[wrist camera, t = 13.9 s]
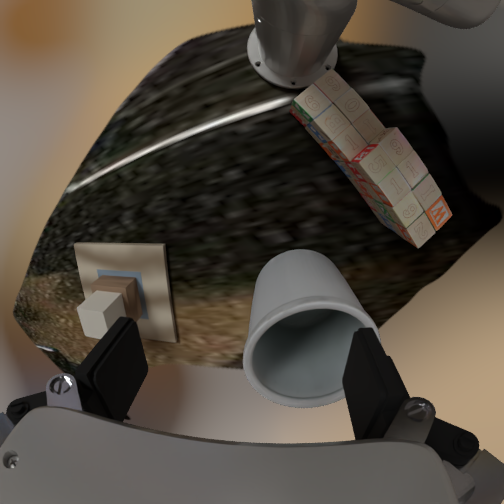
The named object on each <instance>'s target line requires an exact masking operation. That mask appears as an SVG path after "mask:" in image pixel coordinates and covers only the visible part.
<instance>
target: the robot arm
mask: <svg viewBox="0 0 504 504" xmlns="http://www.w3.org/2000/svg"><path fill="white" fill-rule="evenodd" d="M390 1H393V2H395V3H398V4H400V5H402V6H405V7H407V8H409V9H412V10H414V11H416V12H418V13H421V14H422V15H425V16H427V17H429V18H431V19H433V20H435V21H437V22H439V23H442V24H444V25H447V26H450V27H453V28H458V29H471V28H474V27H477V26H479V25H481V24H482V23H484V22H485V21H486V20H487V19H489V18H490V16H491V15H492V14H493V13H494V12H495V10H496V8H497V6H498V5H499V3H500V1H501V0H390ZM356 6H357V0H252V7H253V13H254V21H255V28H254V30H253V31H252V33H251V34H250V37H249V39H248V44H247V53H248V58H249V61H250V63H251V65H252V67H253V68H254V70H255V71H256V72H257V73H258V74H259V75H260V76H261V77H262V78H263V79H265V80H266V81H268V82H269V83H271V84H274V85H276V86H279V87H283V88H287V89H305V88H308V87H309V86H311V85H312V84H313V83H314V82H315V81H316V80H318V79H319V78H320V77H321V76H323V75H324V74H325V73H327V72H328V71H329V70H330V69H334V68H335V65H336V63H337V57H338V53H337V46H336V42H337V41H338V39H339V37H340V36H341V34H342V32H343V31H344V29H345V27H346V26H347V24H348V22H349V21H350V19H351V17H352V15H353V14H354V12H355V9H356ZM258 64H259V65H260V66H259V67H257V65H258ZM325 68H328V69H329V70H326V69H325ZM293 82H294V83H295V85H292V83H293ZM147 372H148V365H147V361H146V357H145V354H144V350H143V346H142V342H141V338H140V334H139V329H138V325H137V323H136V322H135V321H134V320H133V318H130V317H122V316H121V317H119V318H118V319H117V320H116V321H115V323H114V324H113V325H112V326H111V327H110V329H109V330H108V331H107V332H106V333H105V335H104V336H103V337H102V338H101V340H100V341H99V342H98V343H97V344H96V346H95V347H94V348H93V349H92V351H91V352H90V353H89V354H88V356H87V357H86V358H85V359H84V361H83V362H82V363H81V364H80V366H79V367H78V368H77V370H76V371H75V373H76V374H75V375H74V377H73V376H72V375H69V374H64V373H63V374H58V375H55V376H54V377H52V378H51V379H50V380H49V381H48V383H47V385H46V391H44V392H41V393H37V394H33V395H30V396H26V397H23V398H19V399H16V400H14V401H12V402H11V403H10V405H9V406H8V408H7V412H6V414H4V413H3V412H2V413H0V504H501V503H502V501H503V500H504V464H503V463H502V462H501V461H499V460H498V459H497V458H496V457H494V456H493V455H492V454H490V453H489V452H488V451H487V450H485V449H484V450H483V451H481V450H480V449H479V441H478V439H477V437H476V436H475V435H474V434H473V433H471V432H469V431H466V430H464V429H462V428H459V427H457V426H454V425H452V424H449V423H447V422H445V421H443V420H440V419H438V418H436V417H435V414H436V411H435V407H434V406H433V404H432V403H431V402H430V401H428V400H426V399H424V398H421V397H412V398H410V396H409V394H408V392H407V390H406V388H405V385H404V383H403V381H402V379H401V377H400V375H399V373H398V371H397V369H396V367H395V365H394V363H393V360H392V359H391V357H390V356H387V355H386V354H385V351H384V349H383V347H382V346H381V343H380V341H379V339H378V337H377V335H376V333H375V331H374V329H373V328H372V327H366V328H359V329H358V331H355V332H354V334H353V338H352V342H351V346H350V350H349V354H348V358H347V362H346V366H345V370H344V374H343V378H342V385H343V389H344V393H345V397H346V401H347V405H348V409H349V413H350V418H351V422H352V426H353V431H354V435H355V440H351V441H340V442H324V443H297V444H276V443H274V444H273V443H249V442H235V441H224V440H214V439H205V438H198V437H192V436H185V435H179V434H173V433H168V432H163V431H158V430H153V429H148V428H144V427H140V426H136V425H132V424H128V423H124V422H123V420H124V418H125V416H126V414H127V412H128V410H129V408H130V406H131V404H132V402H133V401H134V398H135V396H136V395H137V393H138V391H139V389H140V387H141V385H142V383H143V381H144V379H145V377H146V375H147Z"/></svg>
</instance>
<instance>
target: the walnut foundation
mask: <svg viewBox="0 0 504 504" xmlns="http://www.w3.org/2000/svg"><path fill="white" fill-rule="evenodd" d="M90 285H91V290H92V294H93V293H94V292H95V291H96V290H97V291H106V292H115V293H122V298H123V303H124V308H125V313H126V317H130V318H133V320H134V321H135V322H137V321H138V320H139V318H140V317H141V316H142V314H143V313H142V308H141V303H140V297H139V292H138V286H137V280H136V277H123V276H109V275H102V276H100V277H99V278H98V279H97V280H95V281H94V282H93V283H92V284H90Z"/></svg>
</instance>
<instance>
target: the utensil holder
mask: <svg viewBox="0 0 504 504" xmlns="http://www.w3.org/2000/svg"><path fill="white" fill-rule="evenodd" d="M366 327H372V328H373V329H374V331H375V333H376V335H377V337H378V339H379V341H380V343H381V339H380V334H379V332H378V329H377V327H376V325H375V323H374V322H373V320H372V319H371V317H370V316H369V315H368V314H367V313H366V312H365V311H364V309H363V308H362V306H361V304H360V303H359V301H358V299H357V298H356V296H355V295H354V293H353V291H352V290H351V288H350V286H349V285H348V283H347V282H346V280H345V279H344V277H343V276H342V274H341V273H340V272H339V270H338V269H337V267H336V266H335V265H334V264H333V262H332V261H330V260H329V259H328V258H327V257H325V256H324V255H322V254H320V253H318V252H315V251H311V250H304V249H298V250H291V251H287V252H284V253H282V254H279V255H278V256H276V257H274V258H273V259H271V260H270V261H269V262H268V263H267V264H266V265H265V266H264V268H263V269H262V270H261V272H260V274H259V276H258V278H257V281H256V285H255V291H254V297H253V302H252V310H251V318H250V325H249V334H248V339H247V341H246V344H245V348H244V353H243V367H244V372H245V375H246V377H247V379H248V381H249V383H250V384H251V386H252V387H253V388H254V389H255V390H256V391H257V392H258V393H259V394H260V395H262V396H263V397H265V398H267V399H268V400H270V401H273V402H275V403H277V404H280V405H284V406H288V407H295V408H312V407H319V406H324V405H328V404H331V403H334V402H337V401H339V400H341V399H343V398H345V393H344V389H343V385H342V378H343V374H344V370H345V366H346V362H347V358H348V354H349V350H350V346H351V342H352V338H353V334H354V332H355V331H358V329H359V328H366Z"/></svg>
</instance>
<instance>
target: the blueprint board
mask: <svg viewBox="0 0 504 504" xmlns="http://www.w3.org/2000/svg"><path fill="white" fill-rule="evenodd" d="M74 248H75V253H76V259H77V264H78V269H79V273H80V278H81V282H82V287H83V291H84V295H85V299H87V298H88V297H90V296H91V295H92V290H91V285H90V284H92V283H93V282H94V281H95V280H97V279H98V278H99V277H100V276H102V275H109V276H123V277H136V280H137V286H138V292H139V297H140V303H141V308H142V313H143V314H142V316H141V317H140V318H139V320H138V321H137V322H136V323H137V325H138V329H139V334H140V338H144V339H151V340H159V341H167V342H176V341H177V333H176V327H175V321H174V314H173V307H172V300H171V292H170V284H169V276H168V267H167V258H166V247H165V244H143V243H75V244H74Z"/></svg>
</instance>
